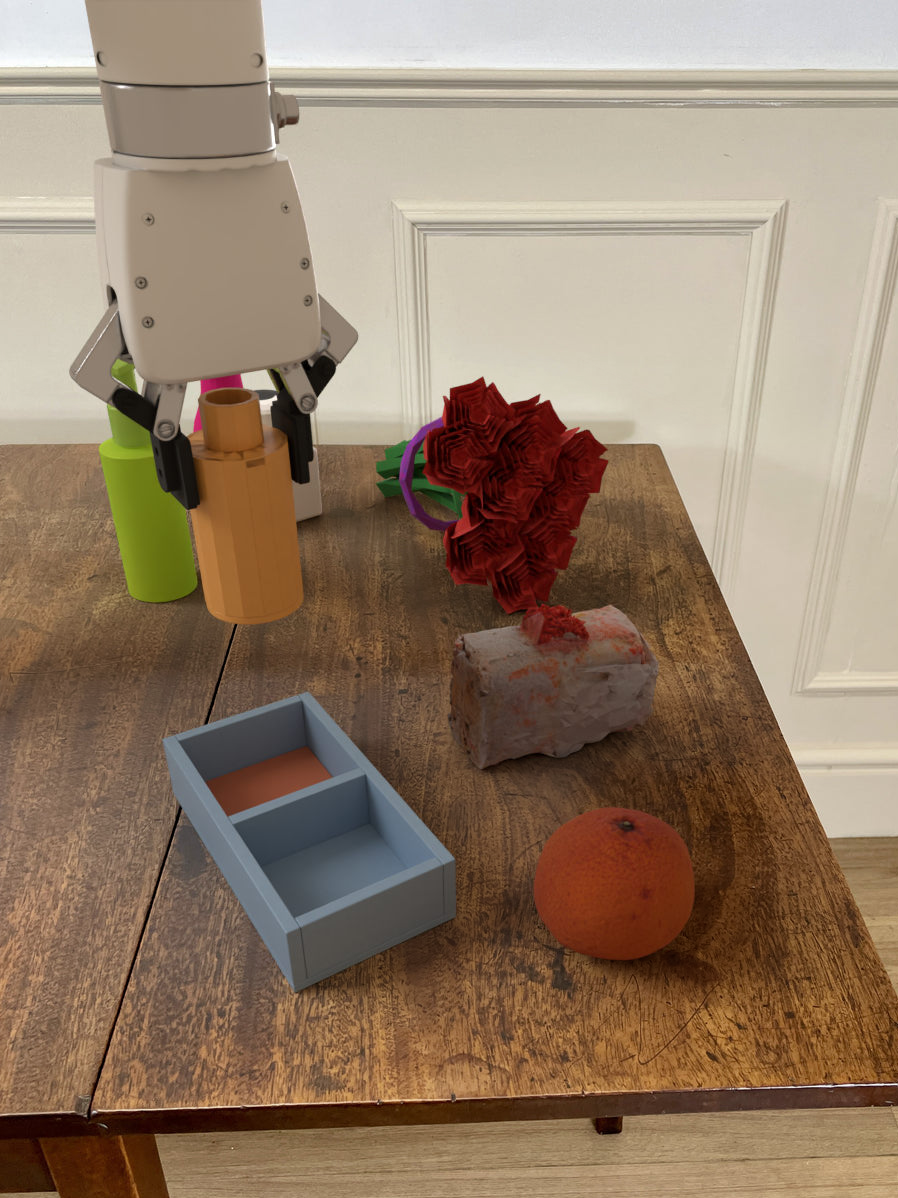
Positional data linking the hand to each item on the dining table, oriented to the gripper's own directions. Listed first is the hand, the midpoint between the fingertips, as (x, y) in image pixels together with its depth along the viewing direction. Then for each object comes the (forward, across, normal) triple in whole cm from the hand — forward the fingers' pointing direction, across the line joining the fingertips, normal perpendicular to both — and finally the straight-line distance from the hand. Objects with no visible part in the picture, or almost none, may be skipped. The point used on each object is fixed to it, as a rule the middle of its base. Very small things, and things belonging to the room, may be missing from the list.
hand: (240, 485), depth 58 cm
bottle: (+7, 0, 0) cm, 7 cm away
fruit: (+21, -10, +23) cm, 33 cm away
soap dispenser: (+21, -3, -30) cm, 37 cm away
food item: (+21, -18, +6) cm, 29 cm away
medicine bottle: (+21, -17, -39) cm, 48 cm away
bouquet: (+21, -29, -24) cm, 43 cm away
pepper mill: (+21, -17, -50) cm, 57 cm away
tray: (+21, +2, +8) cm, 23 cm away
